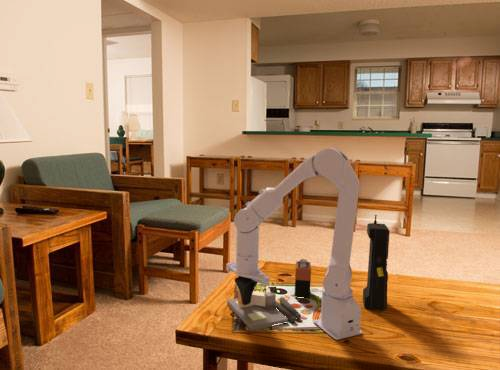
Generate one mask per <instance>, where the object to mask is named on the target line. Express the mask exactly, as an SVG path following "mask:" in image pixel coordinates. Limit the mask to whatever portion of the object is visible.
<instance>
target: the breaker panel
mask: <svg viewBox="0 0 500 370" xmlns="http://www.w3.org/2000/svg"><path fill="white" fill-rule="evenodd" d="M226 304H227V306H228V307H229V308H230V309H231V310H232V311H233V312H234V314H235V315H236V316H237V317H238V318H239V319H240V320H241V321H242V322H243V323H244V324H245V325H246V326H247V328H248V329H249V330H250V331H251V332H253V331H258V330H263V329H267V328H272V327H271V326H272V325H274V324H278V323H284V322H288V323H289V320H288V318H287V317H285V316H284V315H283V314H282V313H281V312H280V311H278V310H277V309H276V308H277V304H275V307H273V308H267V307H264V306H258V305H252V304H247V305H243V304H242V303H238V297H236V298H232V299H227V300H226Z"/></svg>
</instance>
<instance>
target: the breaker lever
mask: <svg viewBox="0 0 500 370" xmlns="http://www.w3.org/2000/svg"><path fill="white" fill-rule="evenodd" d="M276 296H277V295H276V293H274V292H271V291H268V292H262V291H255V290H253V293H252V296H251V302H250V304H252V305H258V306H264V307H267V308H273V307H275V301H277V300H276V299H277V298H276ZM237 298H238V303H242V298H241V294H240V291H239V288H238V289H237Z"/></svg>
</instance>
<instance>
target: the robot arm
mask: <svg viewBox="0 0 500 370" xmlns="http://www.w3.org/2000/svg"><path fill="white" fill-rule="evenodd" d="M319 175H321V176H322V177H324V178H326V179H327V180H330V182H331V183H332V184H333V185H334V186H335V187H336V188H337V190H338V196H337V197H338V198H337V205H336V206H337V207H336V212H335V213H336V214H335V221H334V230H333V231H334V232H333V238H332V245H331V246H332V247H331V254H330V259H329V265H327V269H326V274H325V276H324V277H323V280H322V286H323V288H322V289H321V290H322V291H321V307H320V308H321V309H320V310H321V311H320V318H318V319H314V320H313V323H314V324H315V323H316V324H317V325H318V326H317V325H316V324H315V325H316V326H317V327H318V328H320V329H321V330H322V331H324V332H325V333H326V334H328V335H329V336H330V337H332V338H333V339H334V340H336V341H338V340H341V339H347V338H350V337H353V336H359V335H362V334H363V330H361V318H362V307H361V305H360V304H359V303H358V302H357V301H356V299H355V298H354V296H353V295H354V294H353V291H354V290H353V289H352V288H351V281H352V277H353V270H352V267H351V255H352V248H353V247H352V245H353V240H354V231H355V224H356V216H357V209H358V203H359V202H358V201H359V200H358V199H359V193H360V185H361V184H360V183H361V182H360V179H359V177H358V175H357V173H356V172H355V169H354V168H353V165H352V164H351V162H350V159H349V158H348V156H347V155H346V154H345V153H343V151H341V150H340V149H339V148H336V147H330V146H329V147H326V148H322V149H320V150H319V151H317V152H316V154H315V155H312V156H310V157H309V158H307V159H305V160H304V161H302V162H301V163H300V164H299V165H298V166H297V167H296V168H295V169H293V170H292V171H291V172H290V173H289V174H288V175H287V176H285V178H284V179H283V180H282V181H280V183H278V184H277V186H275V187H269V186H267V187H266V188H262V189H260V190H259V191H258V195H257V196H255V197H254V198H253V199H252V200H251V201H247V202H246V203H245V206H246V207H244V208H242V209H240V210H237V212H236V214H234V215H235V216H234V219H233V224H234V227H235V228H236V249H235V252H236V254H235V256H236V259H235V262H228V263H226V265H225V267H226V268H225V269H226V270H225V271H226V272H232V273H234V274H235V275H236V276H237V277H235V278H234V282H235V284H236V286H237V288H238V289H239V291H240V294H241V298H242V304H243V305H247V304H250V302H251V296H252V293H253V291H255V288H256V286H257V284H258V283H259V284H260V285H261V286H263V287H265V286H269V285H270V276H268V275H266V274H265V273H264V272H262V271H261V268H260V266H259V250H260V249H259V242H260V241H259V239H260V236H259V234H260V233H259V232H260V230H259V229H260V225H261V224H262V221H265V220H266V219H267V218H269V217H270V216H271V215H272V214H273V213H274V212H276V211H277V210H278V209H279V208H280V207H281V206H283V204H284V203H283V202H284V201H283V200H284V197H285V196H286V195H287V194H289V193H290V192H291V191H292V190H293V189H295V188H296V187H298V185H300V184H301V183H302V182H303V181H305V180H306V179H308V178H315V177H318V176H319Z"/></svg>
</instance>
